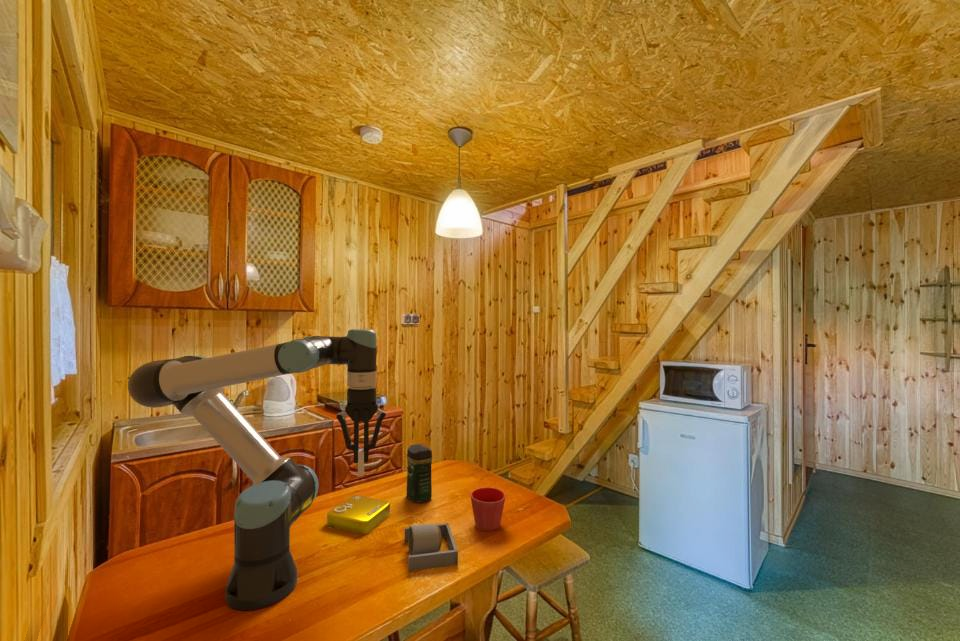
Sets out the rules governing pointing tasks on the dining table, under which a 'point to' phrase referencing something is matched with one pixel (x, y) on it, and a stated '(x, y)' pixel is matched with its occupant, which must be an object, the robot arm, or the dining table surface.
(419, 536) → the ceramic mug
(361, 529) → the element tile
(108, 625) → the dining table surface
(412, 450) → the coffee jar
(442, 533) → the box
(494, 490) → the flower pot
